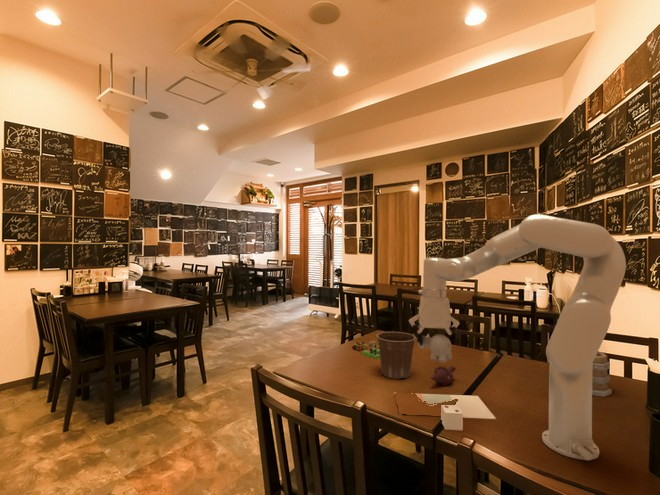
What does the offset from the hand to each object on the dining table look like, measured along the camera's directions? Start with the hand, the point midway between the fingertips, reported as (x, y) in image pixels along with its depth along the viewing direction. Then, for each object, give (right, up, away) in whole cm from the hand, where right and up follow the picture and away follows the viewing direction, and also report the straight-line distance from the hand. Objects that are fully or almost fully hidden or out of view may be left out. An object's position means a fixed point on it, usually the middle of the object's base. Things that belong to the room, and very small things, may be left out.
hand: (433, 344), depth 114 cm
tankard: (+60, -21, +14) cm, 65 cm away
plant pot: (-7, -21, +27) cm, 35 cm away
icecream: (+9, -21, +17) cm, 29 cm away
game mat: (+2, -20, 0) cm, 21 cm away
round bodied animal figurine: (0, -5, 0) cm, 5 cm away
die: (+1, -21, -13) cm, 25 cm away
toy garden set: (-10, -21, +61) cm, 65 cm away
